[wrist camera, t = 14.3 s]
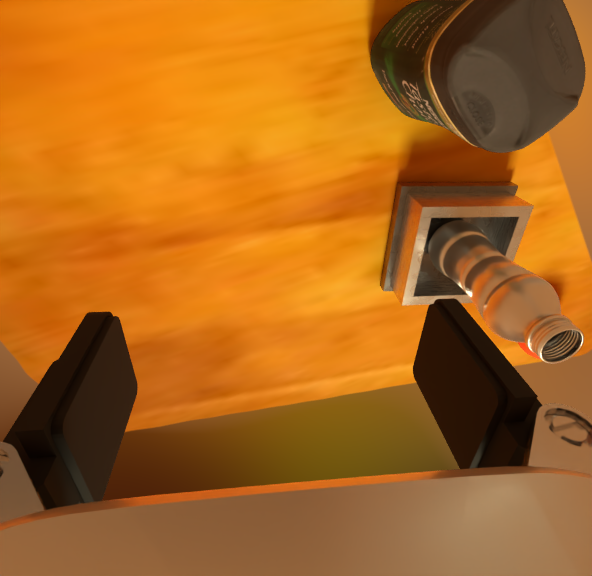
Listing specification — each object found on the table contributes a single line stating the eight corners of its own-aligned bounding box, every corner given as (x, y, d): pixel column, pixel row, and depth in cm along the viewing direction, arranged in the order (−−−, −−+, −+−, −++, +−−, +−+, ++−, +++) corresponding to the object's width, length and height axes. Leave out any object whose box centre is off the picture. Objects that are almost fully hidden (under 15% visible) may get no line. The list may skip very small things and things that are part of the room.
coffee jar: (354, 54, 37) (432, 57, 21) (422, -16, 34) (566, -70, 19) (408, 131, 41) (505, 181, 25) (471, 74, 39) (622, 91, 23)
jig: (397, 182, 44) (416, 199, 39) (510, 181, 45) (543, 198, 40) (380, 285, 51) (394, 310, 46) (477, 282, 53) (501, 306, 48)
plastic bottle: (470, 206, 45) (606, 299, 28) (476, 252, 48) (599, 360, 32) (417, 226, 45) (520, 330, 29) (427, 271, 49) (523, 386, 32)
